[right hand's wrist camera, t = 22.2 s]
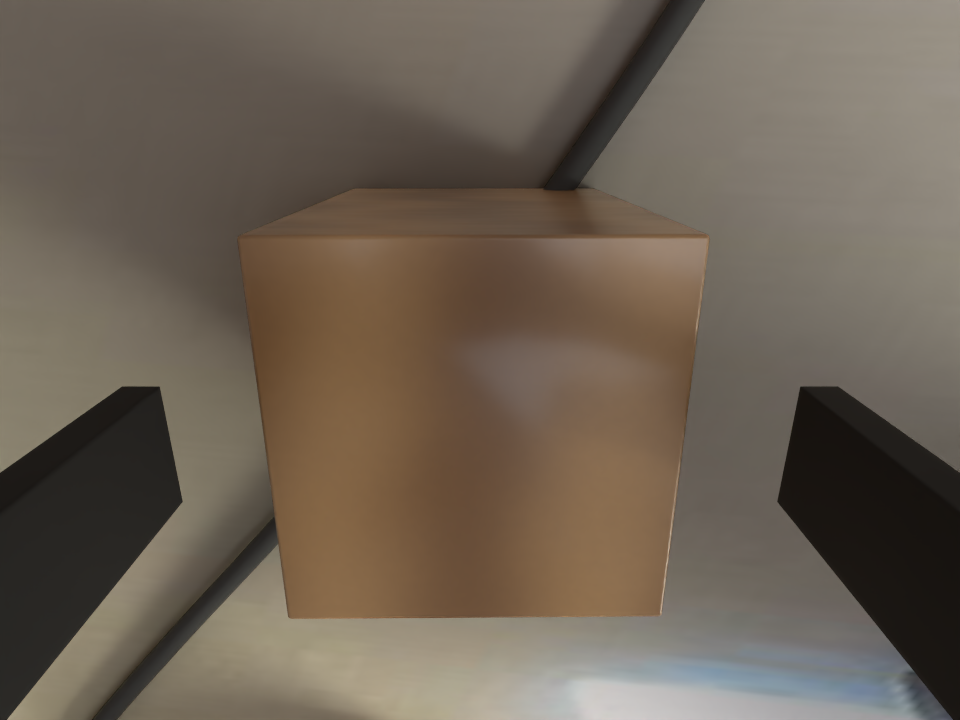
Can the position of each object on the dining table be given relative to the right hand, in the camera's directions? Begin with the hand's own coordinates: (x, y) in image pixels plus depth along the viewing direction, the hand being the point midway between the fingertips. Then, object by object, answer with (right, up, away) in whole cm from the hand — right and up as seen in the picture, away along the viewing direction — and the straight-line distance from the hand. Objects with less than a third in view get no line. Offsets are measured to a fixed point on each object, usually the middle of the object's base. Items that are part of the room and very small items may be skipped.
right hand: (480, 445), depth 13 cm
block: (0, +4, +11) cm, 12 cm away
